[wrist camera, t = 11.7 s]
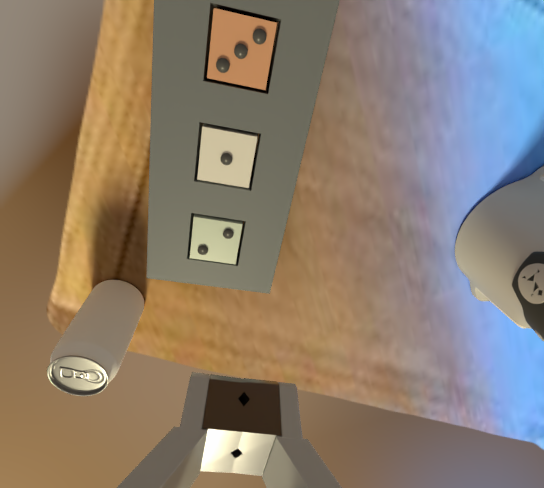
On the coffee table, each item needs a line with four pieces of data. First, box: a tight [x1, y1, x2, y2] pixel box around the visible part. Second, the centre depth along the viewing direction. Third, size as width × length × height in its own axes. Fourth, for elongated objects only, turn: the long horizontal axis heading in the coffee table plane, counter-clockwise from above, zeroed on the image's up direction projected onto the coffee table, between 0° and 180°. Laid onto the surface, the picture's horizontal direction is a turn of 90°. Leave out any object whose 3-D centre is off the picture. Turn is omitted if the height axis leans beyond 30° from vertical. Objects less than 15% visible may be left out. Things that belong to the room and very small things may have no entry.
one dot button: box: [197, 123, 257, 188], centre depth 34 cm, size 5×5×3 cm
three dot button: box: [207, 8, 277, 90], centre depth 30 cm, size 5×5×3 cm
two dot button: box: [190, 214, 243, 264], centre depth 38 cm, size 5×5×3 cm
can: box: [47, 280, 144, 396], centre depth 39 cm, size 6×6×12 cm
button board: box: [147, 0, 339, 294], centre depth 34 cm, size 14×30×3 cm, turn 169°
